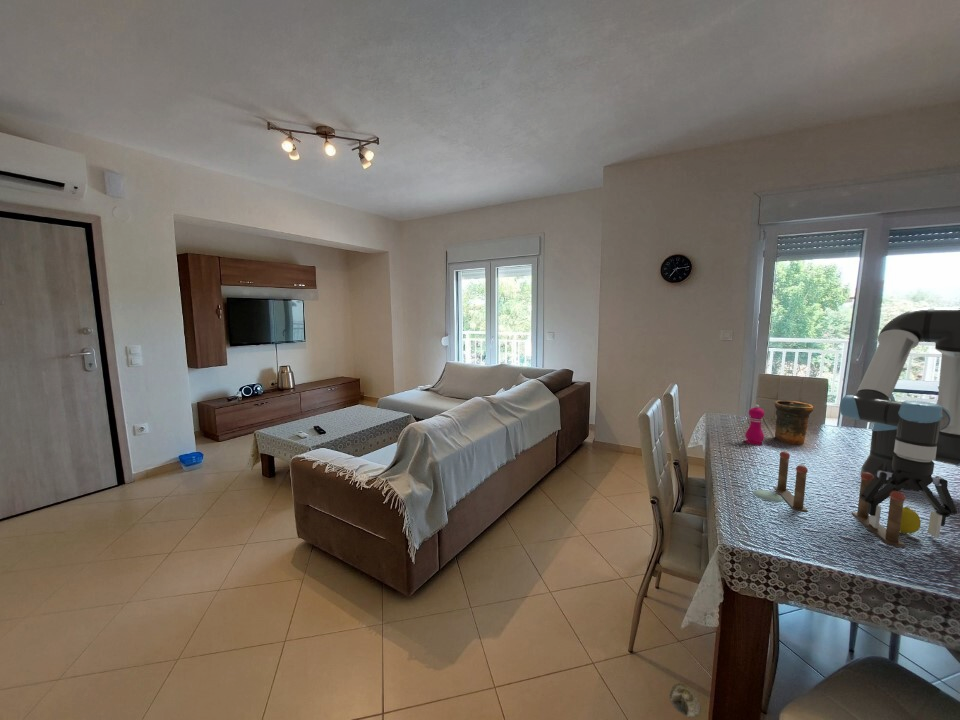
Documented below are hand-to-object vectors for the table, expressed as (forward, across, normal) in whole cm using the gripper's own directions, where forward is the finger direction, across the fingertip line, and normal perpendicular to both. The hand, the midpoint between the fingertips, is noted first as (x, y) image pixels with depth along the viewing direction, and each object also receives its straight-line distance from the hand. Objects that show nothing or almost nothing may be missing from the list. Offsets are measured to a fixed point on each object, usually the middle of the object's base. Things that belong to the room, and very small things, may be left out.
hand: (902, 530), depth 105 cm
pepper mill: (+1, +15, -73) cm, 74 cm away
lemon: (+1, 0, 0) cm, 1 cm away
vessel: (+1, -3, -82) cm, 82 cm away
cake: (+80, +49, -3) cm, 94 cm away
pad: (+1, +28, -13) cm, 31 cm away
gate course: (+1, +14, -7) cm, 15 cm away
